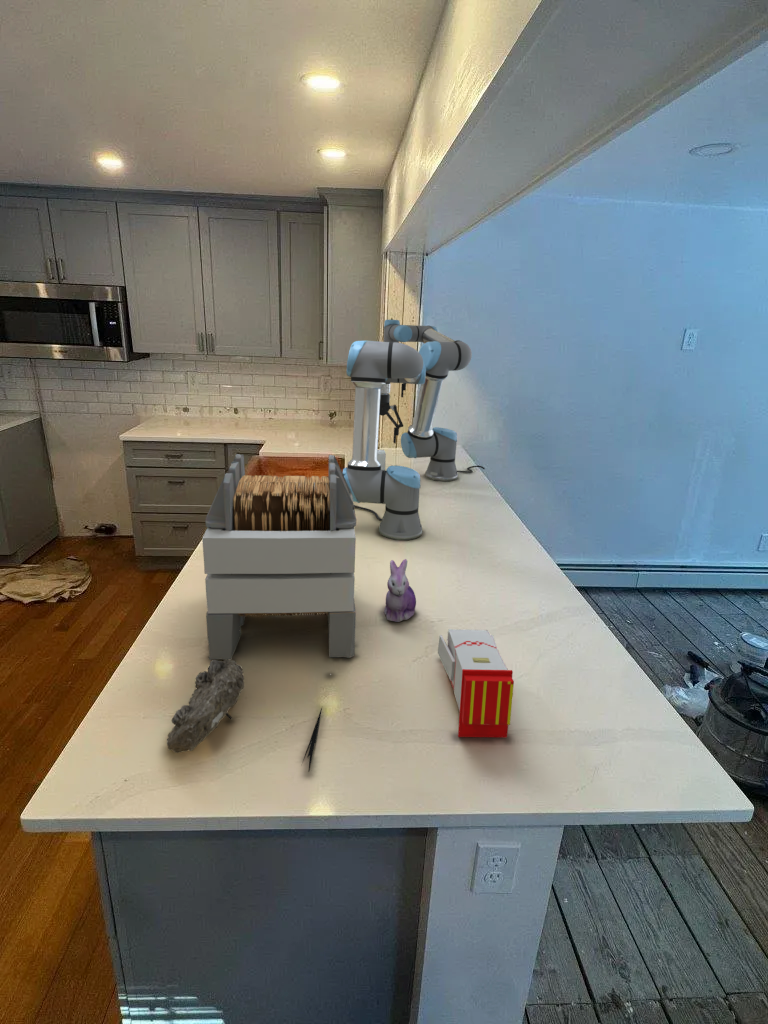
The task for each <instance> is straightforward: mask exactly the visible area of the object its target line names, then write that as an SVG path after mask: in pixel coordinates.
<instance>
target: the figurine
mask: <svg viewBox="0 0 768 1024" xmlns="http://www.w3.org/2000/svg"><path fill="white" fill-rule="evenodd" d="M407 567H408V559H406V558H404V559H403V560H402V561H401V563H400V565H399V566H398V565H397V563H396V562H395V561H394V560H393V559H391V560H390V561H389V570H390V576H389V578H388V579H387V589H388V591H387V592H386V594H385V595H386V596H385V607H384V615H385V616H386V620H387V621H391V622H395V623H400V622H402V621H406V620H409V619H410V618H411V617H413V616H414V615H415V610H416V606H417V597H416V593H415V591H414V590H413V587H411V586H410V582H409V579H408V577H407V574H406V571H407Z"/></svg>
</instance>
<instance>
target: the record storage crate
mask: <svg viewBox="0 0 768 1024" xmlns="http://www.w3.org/2000/svg"><path fill="white" fill-rule="evenodd" d="M244 455H245V454H239V453H236V454H235V456H234V458H233V461H231V462H230V465H229V467H228V470H227V471H226V473H224V476H223V478H222V480H221V483H220V486H219V487H218V489H217V491H216V494H215V496H214V498H213V501H212V503H211V504H210V506H209V507H210V508H209V509H208V511H207V514H206V516H205V519H204V523H205V527H206V529H205V532H204V533H203V535H202V538H201V540H202V553H203V554H202V556H203V566H204V567H203V568H204V574H205V575H206V577H205V579H204V580H205V581H204V583H205V597H206V609H207V611H206V613H205V620H206V621H205V622H206V634H207V636H206V637H207V642H208V643H207V644H208V655H209V656H208V660H209V661H212V660H227V659H228V660H231V659H232V660H233V656H234V654H235V651H236V650H237V647H238V643H239V642H240V639H241V635H242V627H243V626H244V624H245V620H246V617H265V616H267V617H271V616H274V617H276V616H277V617H279V616H281V617H282V616H284V617H286V616H322V615H325V616H326V615H327V625H328V629H327V630H328V632H327V634H328V635H327V636H328V658H347V659H349V658H352V657H354V656H355V655H356V622H357V620H356V616H357V615H356V614H357V612H356V603H355V582H356V581H355V578H356V577H355V570H356V567H355V566H356V544H357V543H356V540H357V536H356V530H355V527H356V526H357V515H356V509H355V507H354V505H355V502H353V498H352V493H351V490H350V488H349V486H348V484H347V482H346V480H345V477H344V475H343V470H342V469H341V466H340V465H339V462H338V460H337V458H336V456H335V455H333V454H328V476H326V475H322V476H319V475H311V477H310V476H306V475H283V477H282V476H280V475H279V476H278V475H251V474H250V475H247V474H246V471H245V468H246V467H245V456H244Z"/></svg>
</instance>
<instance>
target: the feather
mask: <svg viewBox="0 0 768 1024" xmlns="http://www.w3.org/2000/svg"><path fill="white" fill-rule="evenodd" d="M329 675H330V676H331V675H332V674H331V673H330V674H329ZM322 710H323V707H321V708H320V710H319V713H318V716H317V719H316V723H315V725H314V728H313V731H312V733H311V737H310V739H309V742H308V745H307V748H306V751H305V754H304V757H303V760H302V763H301V767H302V765H303V763H304V761H305V758H308V759H309V760H308V762H307V763H308V764H307V766H308V771H310V770H311V766H312V765H311V764H312V760H313V757H315V756H314V755H315V751H316V749H315V746H317V739H318V733H319V729H320V722H321V717H322V712H323V711H322ZM313 754H314V755H313ZM306 755H307V757H306Z"/></svg>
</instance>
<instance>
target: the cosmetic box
mask: <svg viewBox="0 0 768 1024" xmlns="http://www.w3.org/2000/svg"><path fill="white" fill-rule="evenodd" d="M377 460H378V462H379V463H380V464H381V470H386V461H387V453H386V451H385V449H378V452H377Z"/></svg>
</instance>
